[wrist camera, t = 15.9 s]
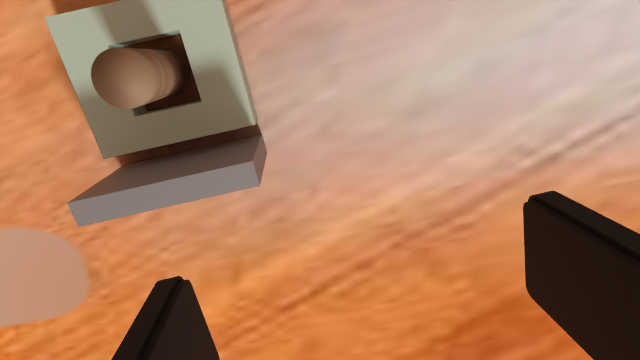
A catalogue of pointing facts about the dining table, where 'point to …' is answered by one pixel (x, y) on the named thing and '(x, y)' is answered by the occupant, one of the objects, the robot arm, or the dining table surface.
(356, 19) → the dining table surface
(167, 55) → the walnut peg
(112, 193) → the low wall
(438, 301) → the dining table surface
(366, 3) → the dining table surface
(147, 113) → the socket block
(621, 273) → the robot arm
